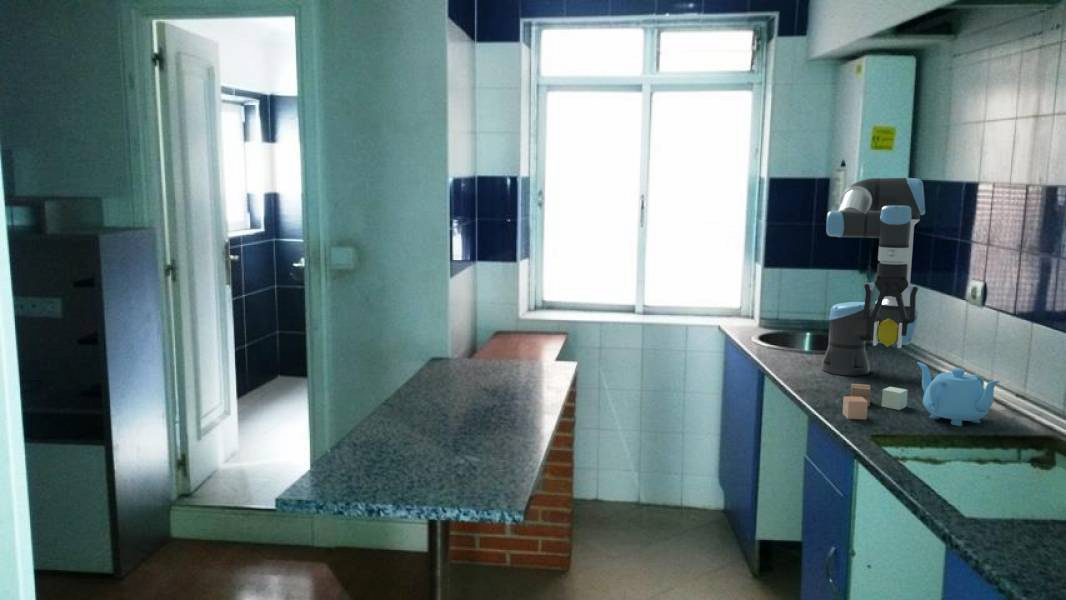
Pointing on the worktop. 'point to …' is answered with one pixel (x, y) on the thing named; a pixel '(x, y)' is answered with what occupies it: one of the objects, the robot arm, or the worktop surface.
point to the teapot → (956, 395)
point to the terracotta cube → (855, 407)
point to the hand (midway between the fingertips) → (887, 345)
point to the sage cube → (894, 398)
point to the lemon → (888, 332)
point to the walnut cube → (861, 391)
